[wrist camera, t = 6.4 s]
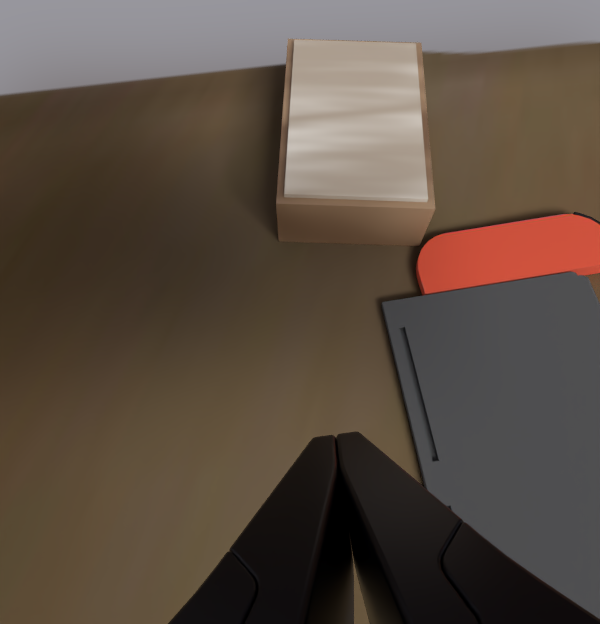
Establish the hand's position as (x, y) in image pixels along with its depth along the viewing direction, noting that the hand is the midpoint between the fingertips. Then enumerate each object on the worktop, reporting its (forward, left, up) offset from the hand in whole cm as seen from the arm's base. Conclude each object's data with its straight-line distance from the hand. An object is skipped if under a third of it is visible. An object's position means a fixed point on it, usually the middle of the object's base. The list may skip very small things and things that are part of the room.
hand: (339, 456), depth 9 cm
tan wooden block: (+8, -5, -8) cm, 13 cm away
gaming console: (-3, -8, -9) cm, 13 cm away
